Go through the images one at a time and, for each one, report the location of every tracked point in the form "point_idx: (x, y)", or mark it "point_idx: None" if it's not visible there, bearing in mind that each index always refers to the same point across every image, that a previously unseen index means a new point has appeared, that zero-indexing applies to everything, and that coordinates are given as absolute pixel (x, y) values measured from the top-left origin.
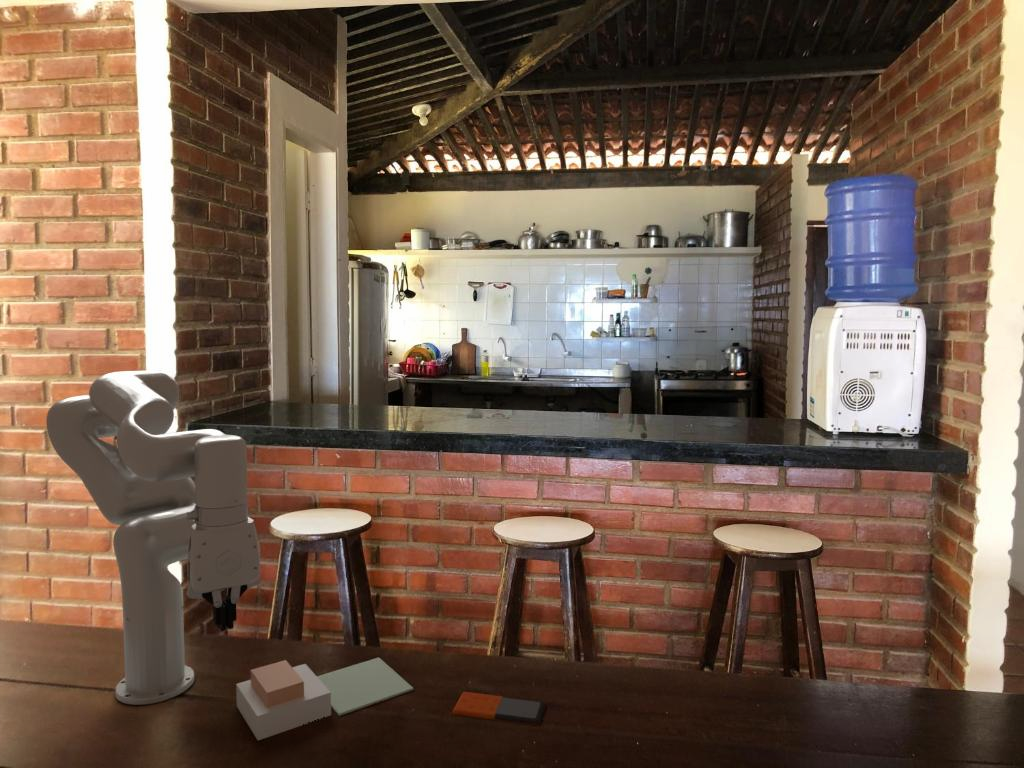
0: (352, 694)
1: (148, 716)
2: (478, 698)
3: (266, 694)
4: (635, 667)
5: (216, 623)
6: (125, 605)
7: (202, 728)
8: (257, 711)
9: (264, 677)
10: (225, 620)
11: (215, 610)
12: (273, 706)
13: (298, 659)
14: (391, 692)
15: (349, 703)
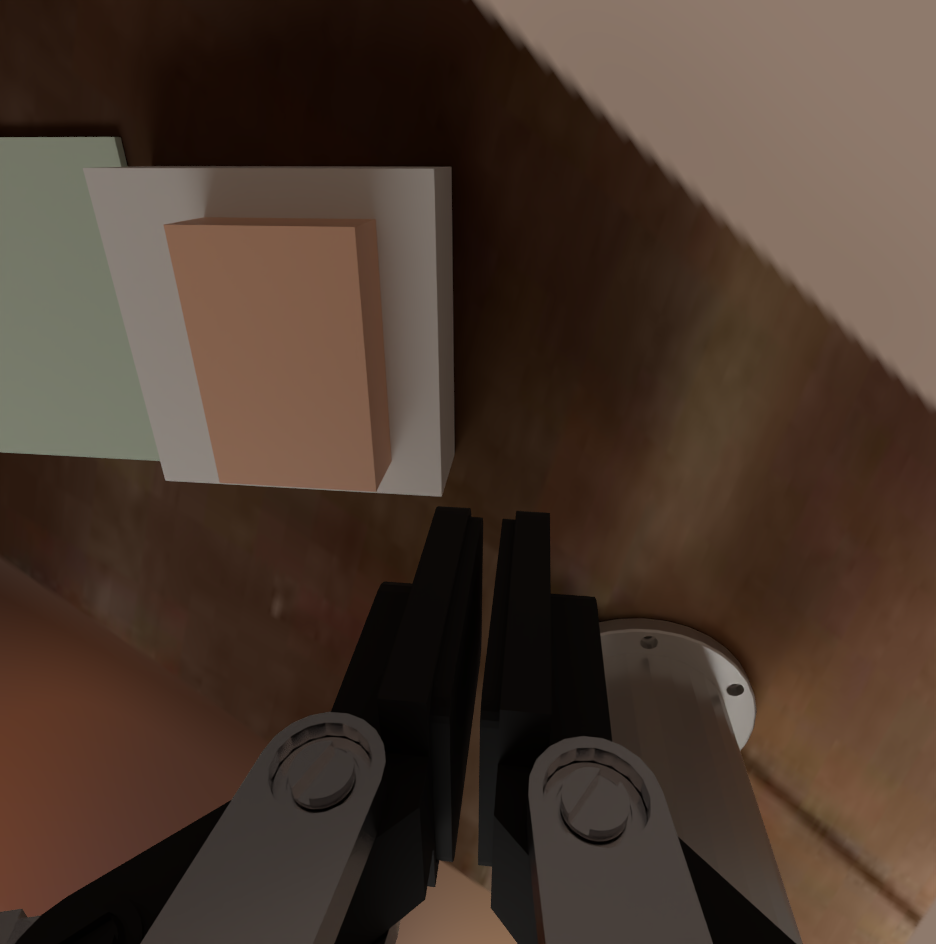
0: (47, 252)
1: (712, 567)
2: None
3: (359, 233)
4: None
5: (590, 599)
6: None
7: (596, 390)
8: (422, 213)
9: (334, 388)
10: (504, 576)
11: (610, 727)
12: (348, 212)
13: (208, 601)
14: None
15: (65, 191)
